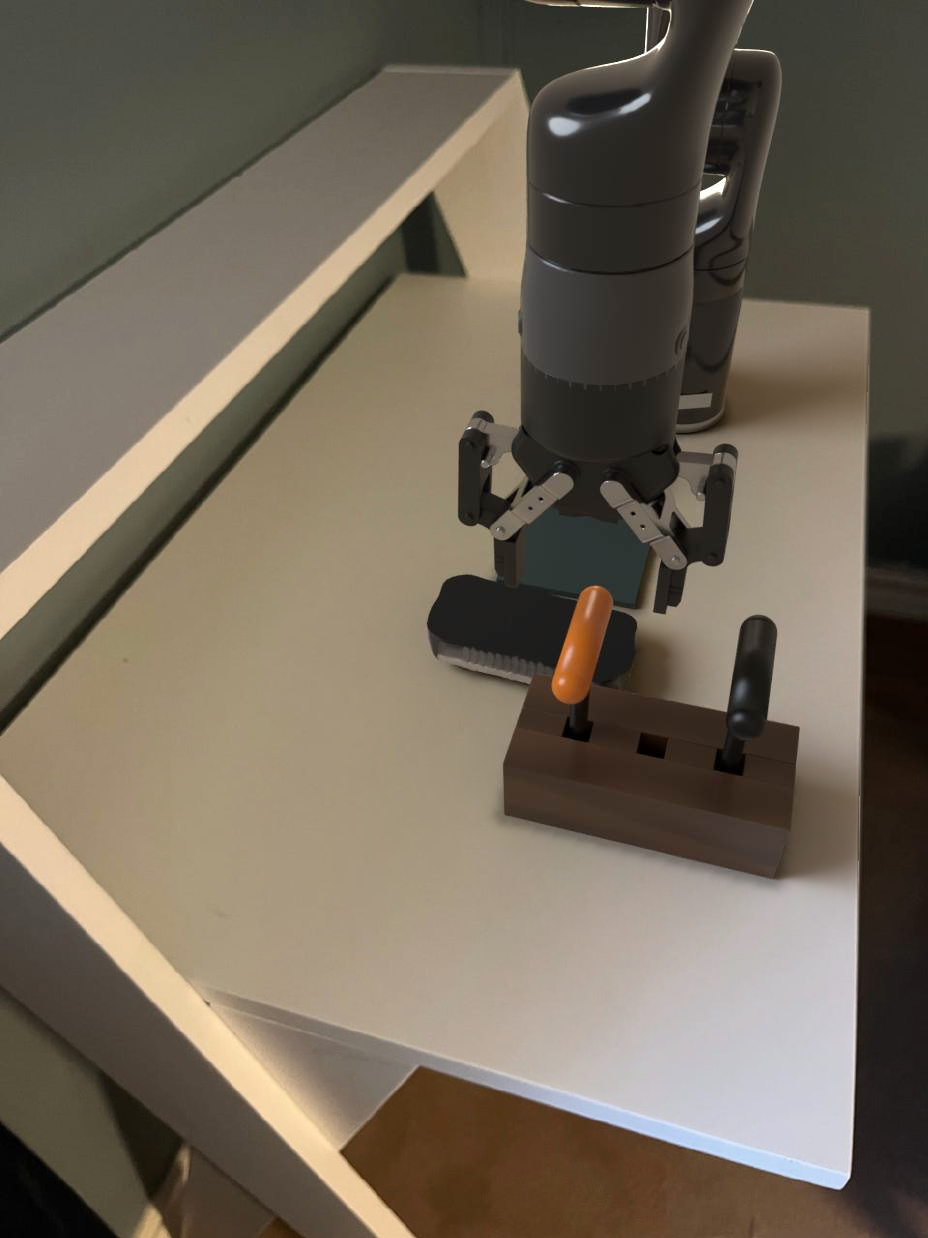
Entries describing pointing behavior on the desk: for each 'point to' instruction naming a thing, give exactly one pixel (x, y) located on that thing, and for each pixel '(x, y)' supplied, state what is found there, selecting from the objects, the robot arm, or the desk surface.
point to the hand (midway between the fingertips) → (586, 590)
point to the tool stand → (653, 777)
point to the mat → (583, 557)
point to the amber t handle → (582, 656)
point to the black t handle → (749, 688)
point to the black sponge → (519, 632)
